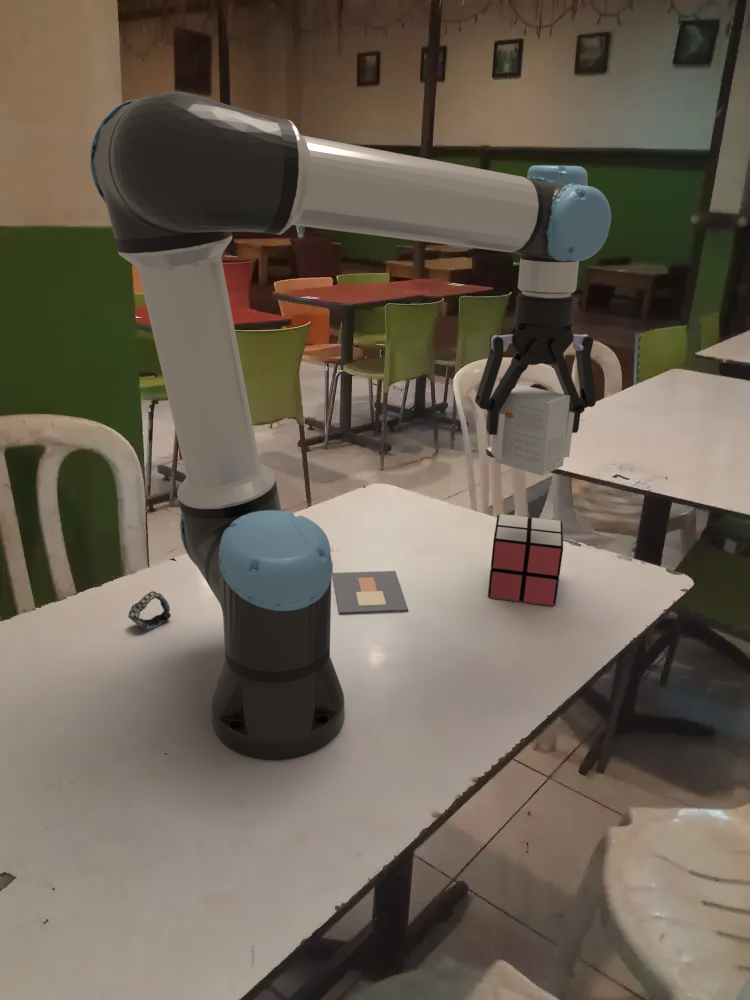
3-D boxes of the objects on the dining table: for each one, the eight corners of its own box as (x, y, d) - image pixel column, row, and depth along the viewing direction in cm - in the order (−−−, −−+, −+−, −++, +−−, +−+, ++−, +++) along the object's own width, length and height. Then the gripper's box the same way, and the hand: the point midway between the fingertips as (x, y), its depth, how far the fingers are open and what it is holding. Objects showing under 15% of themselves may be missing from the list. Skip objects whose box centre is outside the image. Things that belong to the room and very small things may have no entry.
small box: (563, 467, 111) (572, 395, 107) (542, 477, 107) (550, 402, 103) (516, 453, 116) (523, 384, 112) (494, 462, 112) (500, 391, 108)
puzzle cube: (555, 608, 116) (563, 547, 112) (487, 599, 118) (493, 539, 114) (554, 577, 125) (562, 520, 121) (491, 569, 127) (497, 512, 123)
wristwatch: (148, 628, 109) (123, 613, 106) (173, 601, 110) (149, 585, 106) (156, 640, 107) (131, 626, 104) (182, 612, 108) (158, 596, 104)
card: (339, 614, 112) (339, 611, 112) (332, 575, 123) (332, 572, 123) (408, 611, 113) (408, 608, 113) (395, 573, 124) (395, 570, 124)
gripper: (614, 289, 107) (593, 444, 116) (458, 289, 105) (448, 448, 113) (637, 297, 101) (613, 461, 109) (471, 297, 98) (460, 466, 107)
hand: (529, 454), depth 111 cm, fingers closed on small box, 9 cm apart
